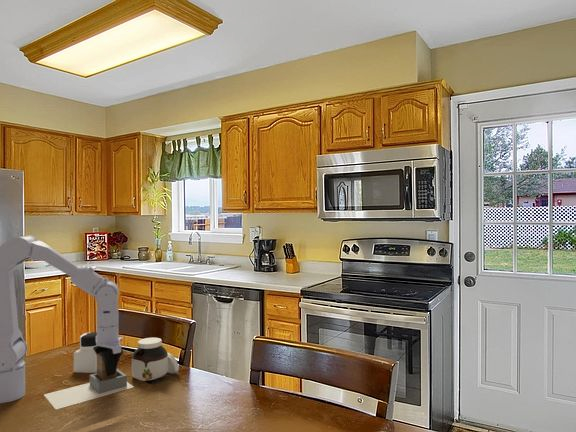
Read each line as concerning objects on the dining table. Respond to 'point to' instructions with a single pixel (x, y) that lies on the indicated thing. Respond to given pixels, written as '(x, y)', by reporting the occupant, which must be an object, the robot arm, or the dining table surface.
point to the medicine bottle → (86, 354)
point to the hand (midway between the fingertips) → (108, 372)
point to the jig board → (88, 390)
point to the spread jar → (152, 361)
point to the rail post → (102, 369)
